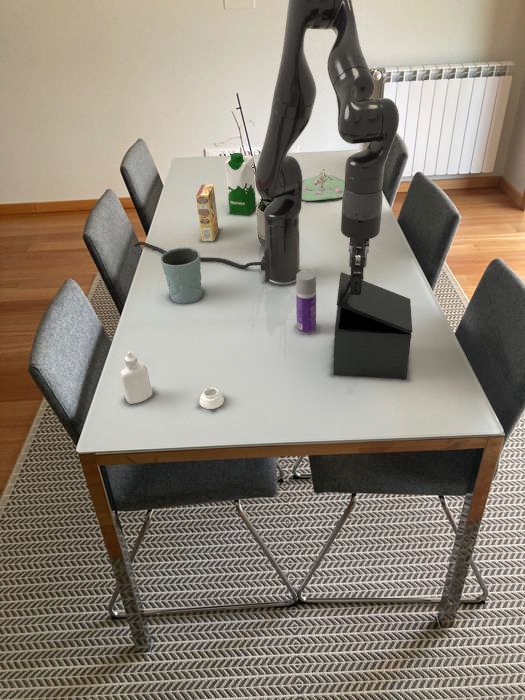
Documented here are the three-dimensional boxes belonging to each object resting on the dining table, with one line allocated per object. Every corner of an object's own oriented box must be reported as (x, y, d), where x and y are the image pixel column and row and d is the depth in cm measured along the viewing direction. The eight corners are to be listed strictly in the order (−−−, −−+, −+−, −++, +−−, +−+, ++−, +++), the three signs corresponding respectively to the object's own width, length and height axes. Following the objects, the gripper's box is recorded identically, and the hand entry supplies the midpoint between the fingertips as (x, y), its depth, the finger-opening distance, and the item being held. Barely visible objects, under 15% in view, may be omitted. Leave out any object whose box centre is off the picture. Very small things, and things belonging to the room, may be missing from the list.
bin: (333, 375, 132) (334, 330, 125) (336, 341, 142) (338, 299, 135) (406, 379, 129) (411, 334, 122) (404, 345, 139) (409, 302, 132)
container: (314, 335, 144) (314, 280, 135) (295, 333, 145) (294, 279, 136) (317, 324, 148) (317, 270, 139) (298, 323, 149) (297, 269, 140)
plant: (290, 178, 229) (289, 155, 223) (344, 175, 228) (345, 152, 223) (294, 204, 208) (294, 179, 203) (354, 201, 208) (355, 176, 203)
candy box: (214, 241, 188) (209, 195, 179) (201, 241, 188) (195, 195, 179) (219, 229, 195) (214, 184, 186) (206, 229, 196) (201, 184, 187)
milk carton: (226, 214, 204) (221, 156, 193) (236, 204, 211) (231, 147, 199) (250, 217, 202) (246, 158, 190) (259, 206, 209) (256, 148, 197)
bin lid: (336, 305, 121) (347, 284, 118) (340, 274, 131) (350, 254, 128) (410, 334, 122) (423, 314, 119) (408, 301, 132) (420, 282, 129)
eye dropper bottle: (127, 391, 131) (117, 347, 123) (153, 389, 131) (144, 345, 123) (125, 404, 127) (113, 359, 120) (151, 403, 127) (141, 358, 120)
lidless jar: (228, 402, 126) (214, 391, 129) (227, 391, 124) (212, 380, 127) (209, 413, 123) (195, 402, 127) (208, 403, 122) (193, 391, 125)
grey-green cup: (211, 290, 164) (206, 250, 157) (192, 308, 157) (187, 268, 150) (179, 283, 168) (173, 244, 161) (160, 301, 160) (152, 261, 153)
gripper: (344, 194, 121) (340, 267, 131) (339, 225, 110) (335, 302, 120) (381, 195, 120) (375, 269, 130) (381, 226, 108) (373, 305, 118)
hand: (356, 285), depth 125 cm, fingers closed on bin lid, 6 cm apart
